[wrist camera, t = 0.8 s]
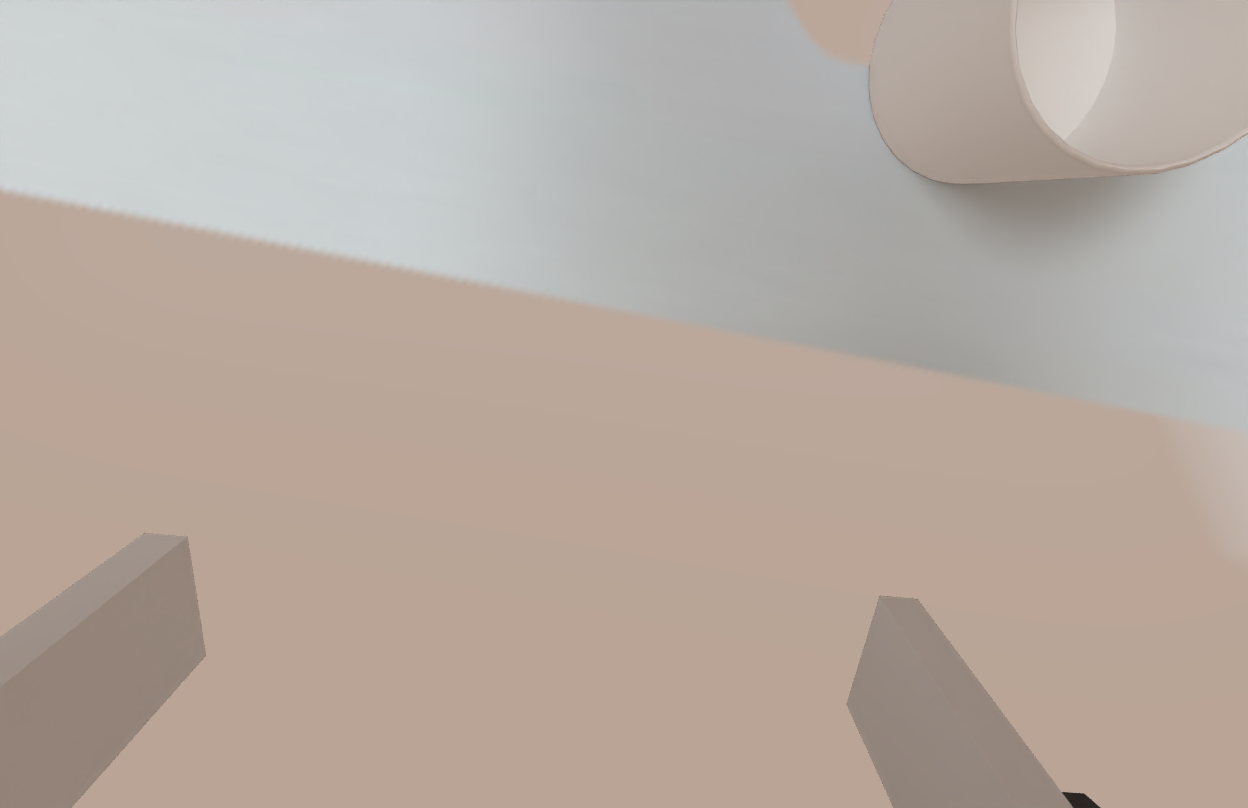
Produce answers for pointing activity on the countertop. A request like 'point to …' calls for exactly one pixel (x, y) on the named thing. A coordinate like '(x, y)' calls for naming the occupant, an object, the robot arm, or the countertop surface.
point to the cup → (1059, 86)
